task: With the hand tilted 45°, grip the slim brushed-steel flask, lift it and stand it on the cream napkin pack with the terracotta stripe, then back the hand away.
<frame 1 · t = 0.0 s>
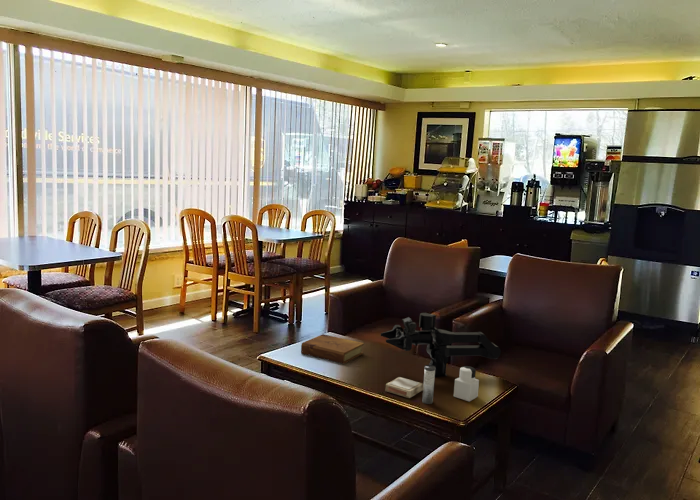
hand: (383, 337, 243), 17 cm above the table, tool horizontal, fingers open, 9 cm apart
cream napkin pack: (404, 390, 229), on the table
medicine bottle: (465, 397, 226), on the table
diary: (332, 354, 271), on the table
steel flask: (427, 401, 219), on the table
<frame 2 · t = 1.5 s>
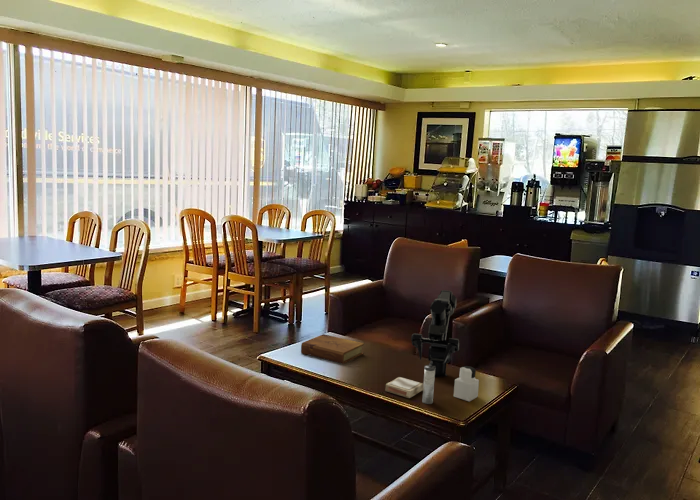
hand: (432, 361, 225), 14 cm above the table, tool tilted 45°, fingers open, 9 cm apart
nothing on the table moved.
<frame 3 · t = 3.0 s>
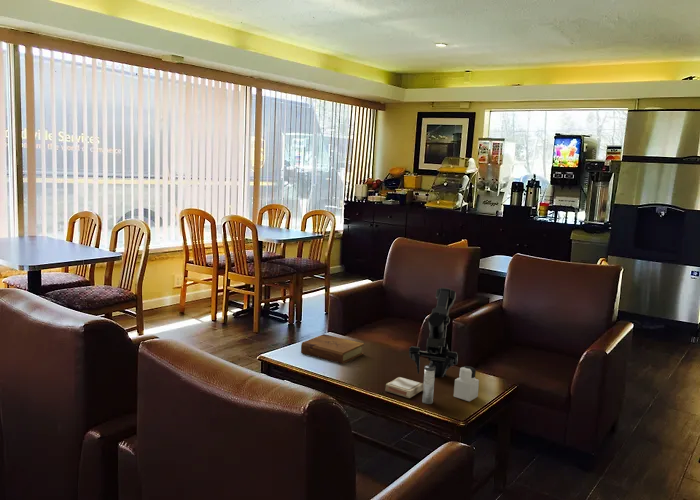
hand: (430, 375, 220), 10 cm above the table, tool tilted 45°, fingers open, 9 cm apart
nothing on the table moved.
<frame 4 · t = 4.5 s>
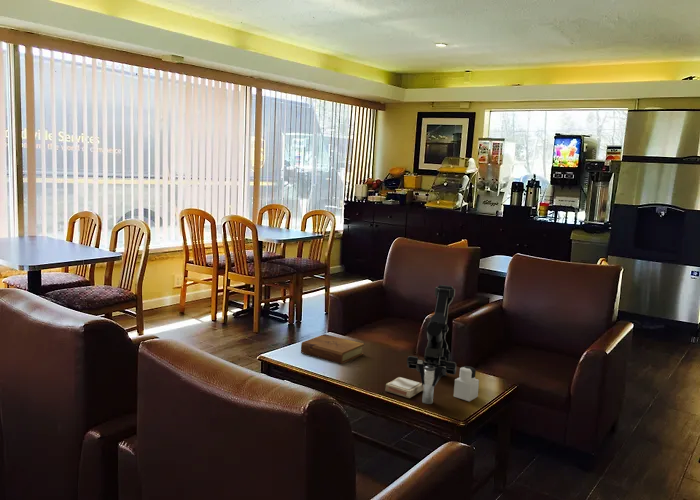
hand: (428, 385, 217), 7 cm above the table, tool tilted 45°, fingers closed on steel flask, 4 cm apart
steel flask: (427, 401, 219), on the table, touching gripper
everything else where it was.
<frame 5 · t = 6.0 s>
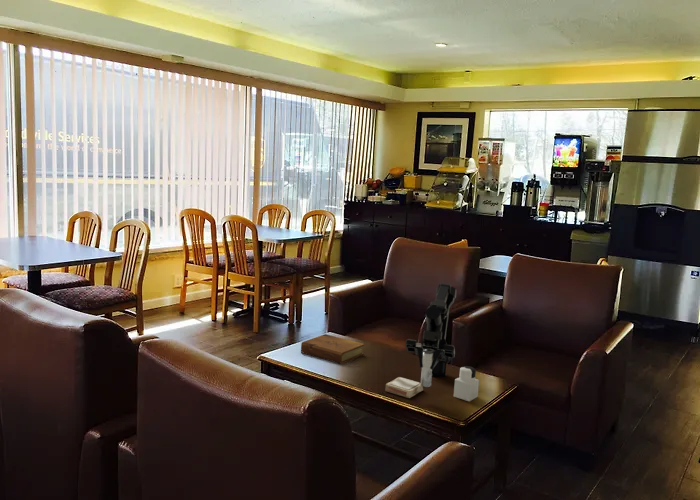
hand: (426, 368, 217), 13 cm above the table, tool tilted 45°, fingers closed on steel flask, 4 cm apart
steel flask: (425, 384, 219), point 6 cm above the table, touching gripper
everything else where it was.
when the fingers open (12 cm above the table, at t = 7.5 s): steel flask drops 1 cm, resting on cream napkin pack.
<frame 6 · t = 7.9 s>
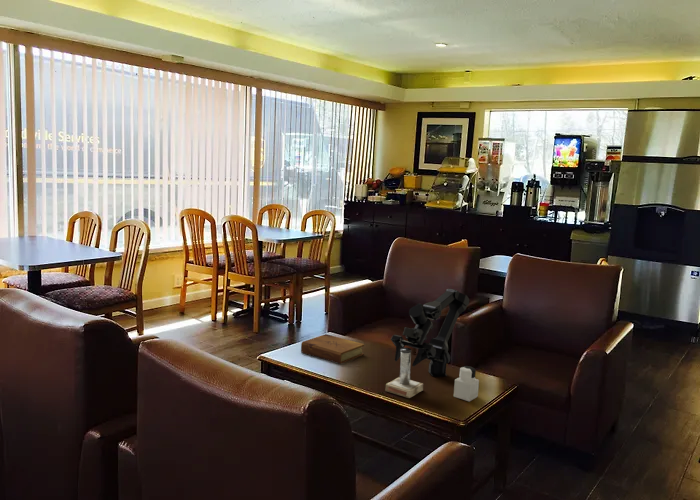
hand: (404, 363, 227), 12 cm above the table, tool tilted 45°, fingers open, 8 cm apart
steel flask: (404, 382, 229), point 3 cm above the table, touching cream napkin pack
everything else where it was.
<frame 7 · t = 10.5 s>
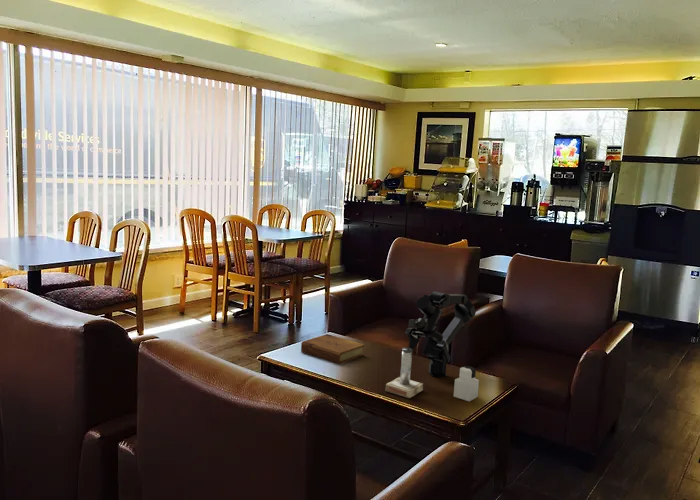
hand: (416, 353, 235), 13 cm above the table, tool tilted 35°, fingers open, 9 cm apart
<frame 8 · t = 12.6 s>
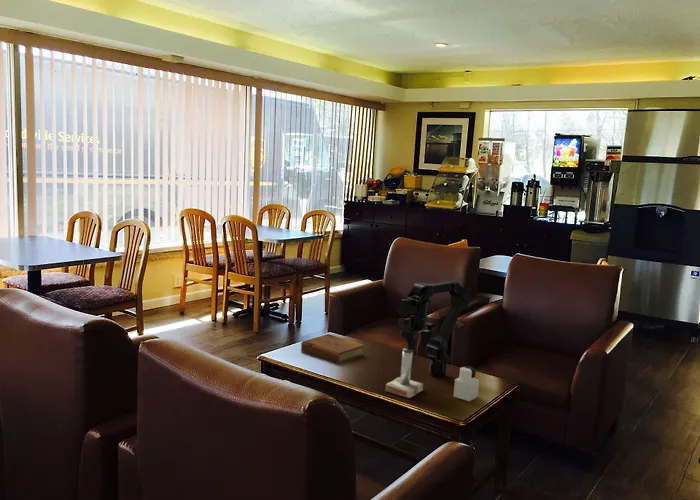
hand: (417, 349, 240), 13 cm above the table, tool pointing down, fingers open, 9 cm apart
at the end: steel flask inside the target area on the cream napkin pack (0.0 cm from its centre), point 3.2 cm above the cream napkin pack's base; steel flask tilted 2°; the gripper is holding nothing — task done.
